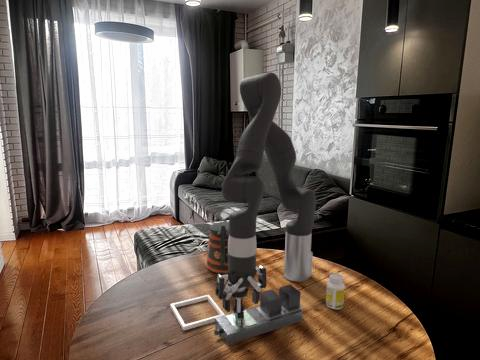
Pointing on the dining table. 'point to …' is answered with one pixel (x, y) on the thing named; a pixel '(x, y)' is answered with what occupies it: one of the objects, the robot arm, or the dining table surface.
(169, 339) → the dining table surface
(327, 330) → the dining table surface
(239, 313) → the push button
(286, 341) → the dining table surface
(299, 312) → the power strip
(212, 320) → the empty frame
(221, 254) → the beer stein
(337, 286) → the supplement bottle
